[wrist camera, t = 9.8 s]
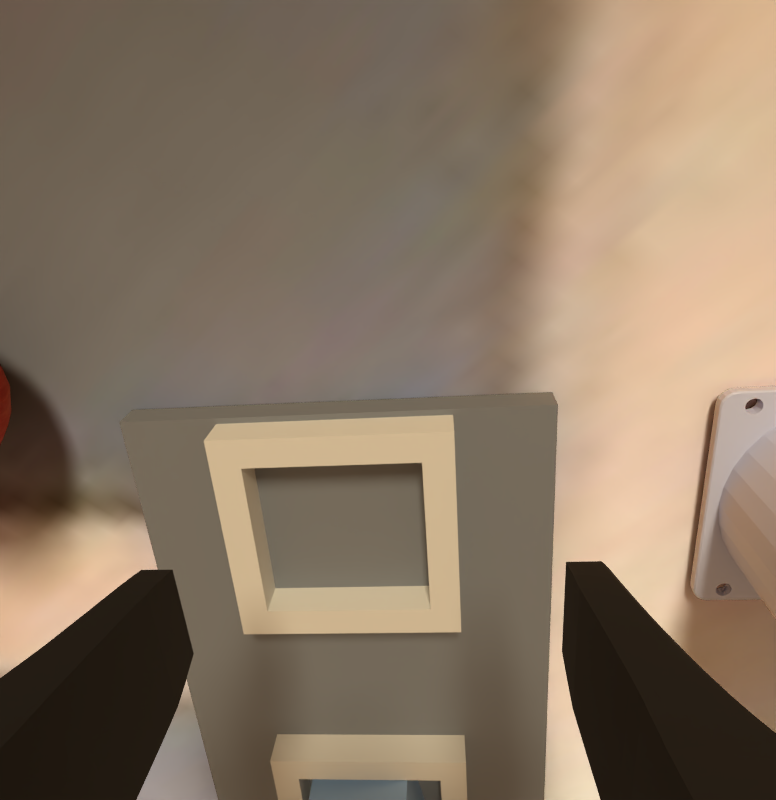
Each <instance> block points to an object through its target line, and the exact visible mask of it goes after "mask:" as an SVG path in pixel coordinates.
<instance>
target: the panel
mask: <svg viewBox="0 0 776 800" xmlns="http://www.w3.org/2000/svg"><path fill="white" fill-rule="evenodd" d="M557 414H558V404H557V402H556V400H555V397H554V395H553V393H552V392H546V393H522V394H499V395H475V396H451V397H427V398H403V399H380V400H356V401H332V402H308V403H284V404H261V405H237V406H213V407H189V408H165V409H142V410H132V411H131V412H130V413H129V414H128V415H127V416H126V417H125V418H124V419H122V420H121V421H120V422H119V423H120V427H121V430H122V434H123V438H124V442H125V446H126V449H127V453H128V457H129V461H130V465H131V469H132V472H133V476H134V480H135V484H136V488H137V491H138V495H139V499H140V503H141V507H142V510H143V514H144V518H145V522H146V526H147V529H148V533H149V537H150V541H151V545H152V549H153V552H154V556H155V560H156V564H157V568H158V570H173V573H174V577H175V581H176V585H177V589H178V593H179V597H180V601H181V605H182V609H183V613H184V617H185V621H186V625H187V629H188V633H189V637H190V641H191V645H192V649H193V653H194V655H193V658H192V662H191V665H190V668H189V672H188V675H187V682H188V686H189V690H190V693H191V697H192V701H193V705H194V709H195V712H196V716H197V720H198V724H199V728H200V731H201V735H202V739H203V743H204V747H205V750H206V754H207V758H208V762H209V766H210V770H211V773H212V777H213V781H214V785H215V789H216V792H217V796H218V800H309V796H310V790H311V785H312V780H313V779H335V780H418V782H419V784H420V787H421V790H422V793H423V796H424V799H425V800H544V785H545V756H546V728H547V699H548V671H549V642H550V614H551V585H552V557H553V528H554V500H555V471H556V443H557Z"/></svg>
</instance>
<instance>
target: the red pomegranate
mask: <svg viewBox="0 0 776 800" xmlns="http://www.w3.org/2000/svg"><path fill="white" fill-rule="evenodd" d="M10 415H11V397H10V385H9V383H8V380H7V378H6V376H5V374H4V372H3V369H2V367H1V365H0V445H1V442H2V440H3V437H4V435H5V432H6V430H7V427H8V424H9V419H10Z"/></svg>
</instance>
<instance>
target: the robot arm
mask: <svg viewBox="0 0 776 800" xmlns="http://www.w3.org/2000/svg"><path fill="white" fill-rule="evenodd" d="M755 398H757V403H756V405H755V406H753V407H752V408H749V409H745V406H746V404H747V402H748V401H750V400H751V399H755ZM724 583H725V584H726V585H725V586H723V587H721V588H717V586H719V585H720V584H724ZM690 586H691V589H692V591H693V593H694V594H695V596H696V597H697V598H699V599H701V600H762V601H763V602H764V603H765V605H766V606H767V608H768V609H769V611H770V612H771V613H772V615H773V616H774V618H775V619H776V386H764V387H740V388H731V389H727V390H726V391H724V392H722V393H721V394H720V395H719V397H718V398H717V401H716V404H715V411H714V418H713V425H712V433H711V440H710V447H709V454H708V461H707V468H706V475H705V482H704V489H703V496H702V504H701V511H700V518H699V525H698V532H697V539H696V546H695V553H694V560H693V567H692V575H691V582H690ZM562 653H563V659H564V664H565V670H566V675H567V681H568V686H569V691H570V696H571V701H572V706H573V710H574V714H575V717H576V720H577V724H578V727H579V730H580V734H581V737H582V740H583V744H584V747H585V750H586V754H587V757H588V760H589V763H590V767H591V770H592V773H593V776H594V780H595V783H596V786H597V789H598V793H599V796H600V799H601V800H776V733H775V732H774V731H772V730H771V729H770V728H769V727H767V726H766V725H765V724H764V723H762V722H761V721H760V720H759V719H758V718H756V717H755V716H754V715H753V714H751V713H750V712H749V711H748V710H747V709H746V708H744V707H743V706H742V705H741V704H740V703H739V702H738V701H737V700H735V699H734V698H733V697H732V696H731V695H730V694H729V693H728V692H727V691H725V690H724V689H723V688H722V687H721V686H720V685H719V684H718V683H717V682H716V681H715V680H714V679H713V678H711V677H710V676H709V675H708V674H707V673H706V672H705V671H704V670H703V669H702V668H701V667H700V666H699V665H698V664H697V663H696V662H695V661H694V660H693V659H692V658H691V657H690V656H689V655H688V654H687V653H686V652H685V651H684V650H683V649H682V648H681V647H680V646H679V645H678V644H677V643H676V642H675V641H674V640H673V639H672V638H671V637H670V636H669V635H668V634H667V633H666V632H665V631H664V630H663V629H662V628H661V627H660V626H659V625H658V623H657V622H656V621H655V620H654V619H653V618H652V617H651V616H650V615H649V614H648V613H647V611H646V610H645V609H644V608H643V607H642V606H641V605H640V604H639V603H638V601H637V600H636V599H635V598H634V597H633V596H632V595H631V594H630V592H629V591H628V590H627V589H626V588H625V587H624V586H623V584H622V583H621V582H620V581H619V580H618V579H617V577H616V576H615V575H614V574H613V573H612V572H611V570H610V569H609V568H608V567H607V566H606V565H605V564H604V563H603V562H602V561H598V562H566V578H565V600H564V622H563V644H562ZM193 655H194V653H193V649H192V645H191V641H190V637H189V633H188V629H187V625H186V621H185V617H184V613H183V609H182V605H181V601H180V597H179V593H178V589H177V585H176V581H175V577H174V573H173V570H141V571H139V572H138V573H137V574H135V575H134V576H132V577H131V578H130V579H128V580H127V581H126V582H124V583H123V584H122V585H121V586H119V587H118V588H117V589H115V590H114V591H113V592H112V593H110V594H109V595H108V596H107V597H105V598H104V599H103V600H102V601H100V602H99V603H98V604H97V605H95V606H94V607H93V608H92V609H90V610H89V611H88V612H87V613H85V614H84V615H83V616H82V617H80V618H79V619H78V620H76V621H75V622H74V623H73V624H71V625H70V626H69V627H68V628H66V629H65V630H64V631H63V632H61V633H60V634H59V635H57V636H56V637H55V638H54V639H52V640H51V641H50V642H49V643H47V644H46V645H45V646H43V647H42V648H41V649H39V650H38V651H37V652H35V653H34V654H33V655H31V656H30V657H29V658H27V659H26V660H24V661H23V662H22V663H20V664H19V665H18V666H16V667H15V668H14V669H12V670H11V671H10V672H8V673H7V674H5V675H4V676H3V677H1V678H0V800H136V799H137V797H138V795H139V792H140V790H141V788H142V786H143V784H144V781H145V779H146V777H147V775H148V773H149V770H150V768H151V766H152V764H153V762H154V759H155V757H156V755H157V753H158V751H159V748H160V746H161V744H162V741H163V739H164V737H165V735H166V732H167V730H168V728H169V726H170V723H171V721H172V719H173V716H174V714H175V712H176V709H177V707H178V704H179V701H180V698H181V695H182V692H183V688H184V685H185V682H186V679H187V675H188V672H189V668H190V665H191V662H192V658H193Z"/></svg>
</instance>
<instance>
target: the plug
mask: <svg viewBox="0 0 776 800" xmlns="http://www.w3.org/2000/svg"><path fill="white" fill-rule="evenodd" d="M309 800H425V799H424V796H423V793H422V790H421V787H420V784H419V782H418V780H335V779H313V780H312V785H311V790H310V796H309Z"/></svg>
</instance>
